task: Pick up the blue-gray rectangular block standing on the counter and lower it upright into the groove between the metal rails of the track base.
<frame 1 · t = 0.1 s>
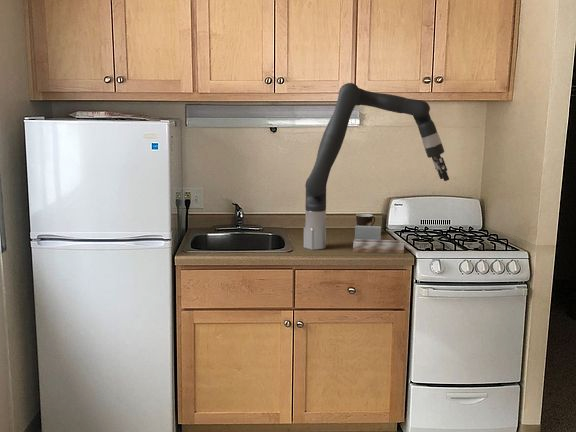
hand: (444, 179, 253), 31 cm above the countertop, tool tilted 20°, fingers open, 8 cm apart
coffee mug: (366, 235, 291), on the countertop
blue-gray rectangular block: (367, 243, 271), on the countertop
track base: (378, 250, 256), on the countertop
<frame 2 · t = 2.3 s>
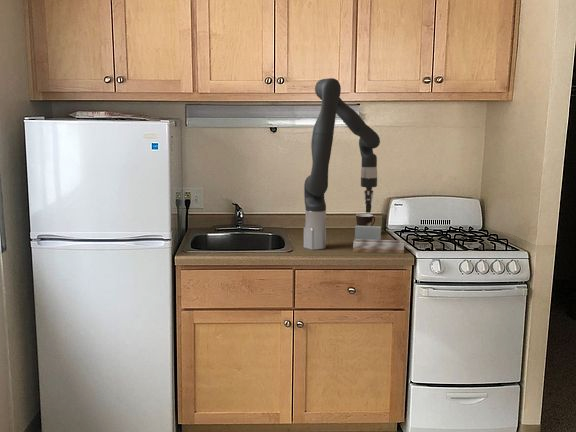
hand: (368, 211, 268), 15 cm above the countertop, tool pointing down, fingers open, 8 cm apart
nothing on the countertop moved.
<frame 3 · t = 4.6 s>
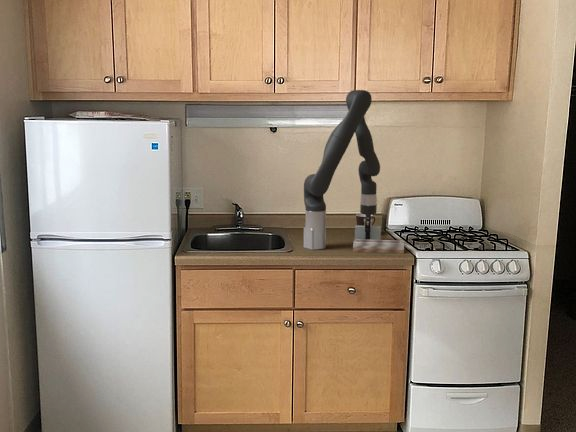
hand: (367, 239, 271), 2 cm above the countertop, tool pointing down, fingers closed on blue-gray rectangular block, 3 cm apart
blue-gray rectangular block: (367, 243, 271), on the countertop, touching gripper
everything else where it was.
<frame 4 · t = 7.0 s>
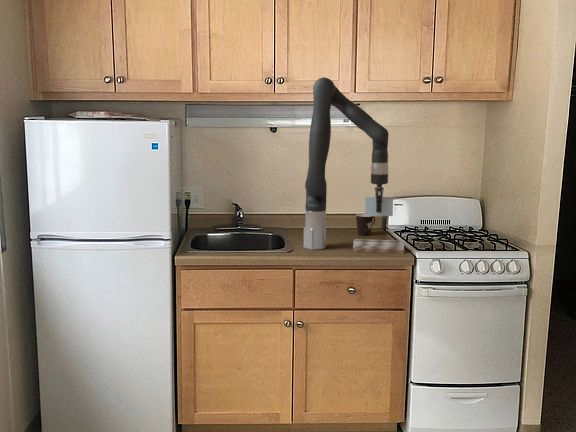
hand: (378, 211, 254), 17 cm above the countertop, tool pointing down, fingers closed on blue-gray rectangular block, 3 cm apart
blue-gray rectangular block: (378, 215, 255), point 16 cm above the countertop, touching gripper
everything else where it was.
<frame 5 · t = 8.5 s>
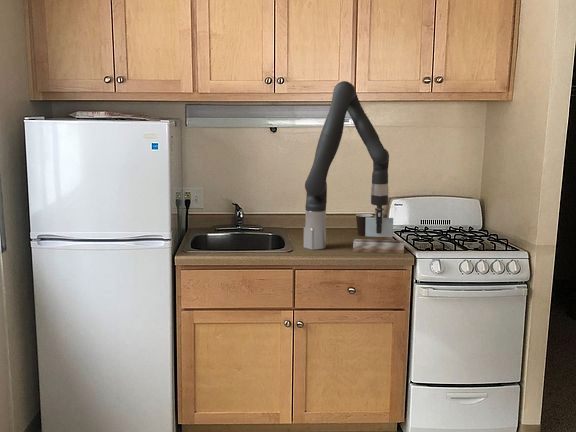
hand: (378, 232, 254), 8 cm above the countertop, tool pointing down, fingers closed on blue-gray rectangular block, 3 cm apart
blue-gray rectangular block: (379, 236, 255), point 7 cm above the countertop, touching gripper
everything else where it was.
when the fingers open (5 cm above the countertop, at t = 9.7 s): blue-gray rectangular block drops 2 cm, resting on track base.
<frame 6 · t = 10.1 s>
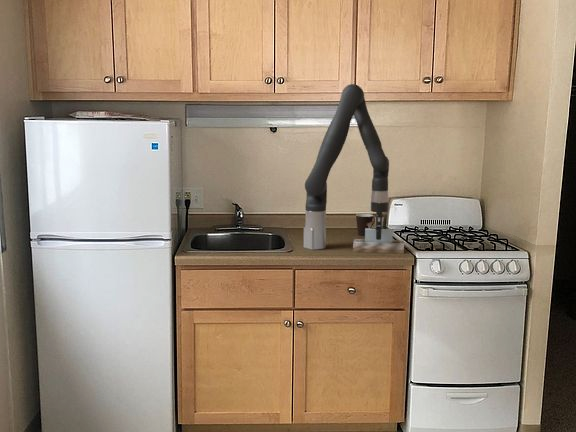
hand: (378, 237, 255), 6 cm above the countertop, tool pointing down, fingers open, 6 cm apart
blue-gray rectangular block: (378, 247, 255), point 1 cm above the countertop, touching track base
everything else where it was.
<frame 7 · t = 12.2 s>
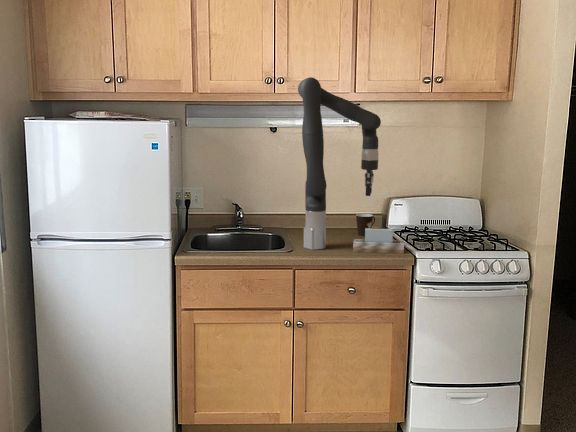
hand: (368, 194, 261), 24 cm above the countertop, tool pointing down, fingers open, 8 cm apart
nothing on the countertop moved.
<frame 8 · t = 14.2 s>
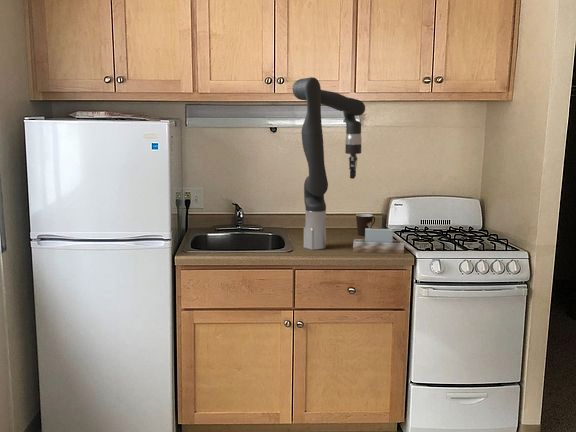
hand: (352, 177, 275), 30 cm above the countertop, tool pointing down, fingers open, 8 cm apart
nothing on the countertop moved.
at the end: blue-gray rectangular block inside the target area on the track base (0.0 cm from its centre), point 1.5 cm above the track base's base; blue-gray rectangular block tilted 0°; the gripper is holding nothing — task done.
